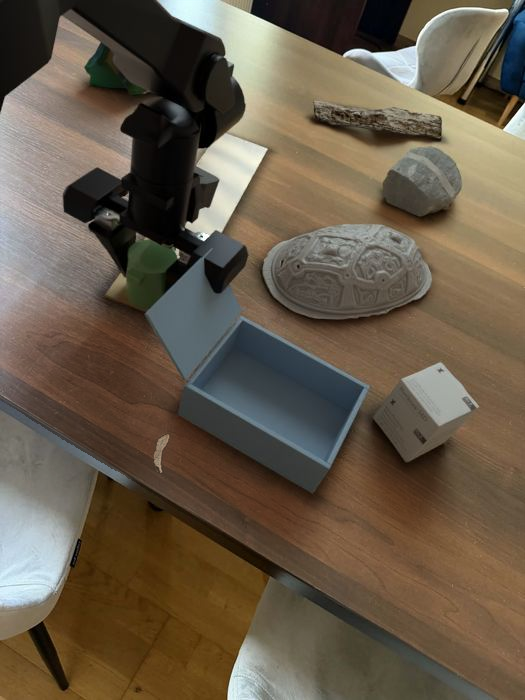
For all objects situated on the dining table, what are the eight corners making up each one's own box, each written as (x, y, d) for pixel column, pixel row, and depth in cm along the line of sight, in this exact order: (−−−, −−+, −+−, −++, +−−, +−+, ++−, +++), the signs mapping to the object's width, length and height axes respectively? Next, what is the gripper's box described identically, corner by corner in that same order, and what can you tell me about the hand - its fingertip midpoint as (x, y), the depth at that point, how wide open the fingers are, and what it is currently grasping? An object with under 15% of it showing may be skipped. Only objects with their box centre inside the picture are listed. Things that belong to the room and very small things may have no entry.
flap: (186, 380, 52) (183, 380, 52) (242, 310, 59) (240, 311, 59) (147, 313, 48) (144, 314, 48) (212, 248, 55) (209, 248, 55)
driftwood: (334, 124, 94) (338, 91, 92) (301, 125, 102) (304, 95, 101) (449, 140, 105) (454, 110, 104) (410, 140, 114) (415, 112, 113)
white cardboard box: (370, 418, 61) (399, 377, 56) (411, 399, 64) (441, 359, 59) (406, 465, 59) (439, 427, 53) (446, 443, 61) (482, 405, 56)
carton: (177, 414, 56) (184, 385, 52) (231, 345, 63) (240, 315, 59) (312, 494, 54) (329, 469, 50) (352, 413, 61) (370, 386, 57)
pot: (150, 321, 62) (154, 285, 58) (110, 298, 63) (111, 261, 59) (184, 286, 67) (191, 250, 63) (147, 265, 67) (151, 228, 63)
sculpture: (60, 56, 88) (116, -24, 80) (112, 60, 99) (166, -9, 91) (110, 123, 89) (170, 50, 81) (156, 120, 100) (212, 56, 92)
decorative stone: (406, 166, 97) (422, 134, 92) (460, 195, 95) (479, 164, 90) (375, 197, 89) (391, 163, 84) (433, 230, 87) (452, 197, 82)
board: (172, 322, 63) (173, 320, 63) (104, 297, 63) (104, 294, 63) (267, 150, 90) (267, 148, 89) (219, 133, 90) (219, 130, 89)
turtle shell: (242, 241, 74) (258, 201, 68) (391, 228, 85) (414, 193, 80) (292, 339, 67) (314, 304, 62) (445, 310, 79) (475, 279, 74)
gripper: (288, 174, 56) (254, 286, 68) (129, 94, 59) (122, 216, 71) (234, 229, 49) (206, 344, 61) (56, 135, 52) (61, 263, 63)
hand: (149, 287), depth 64 cm, fingers closed on pot, 5 cm apart
